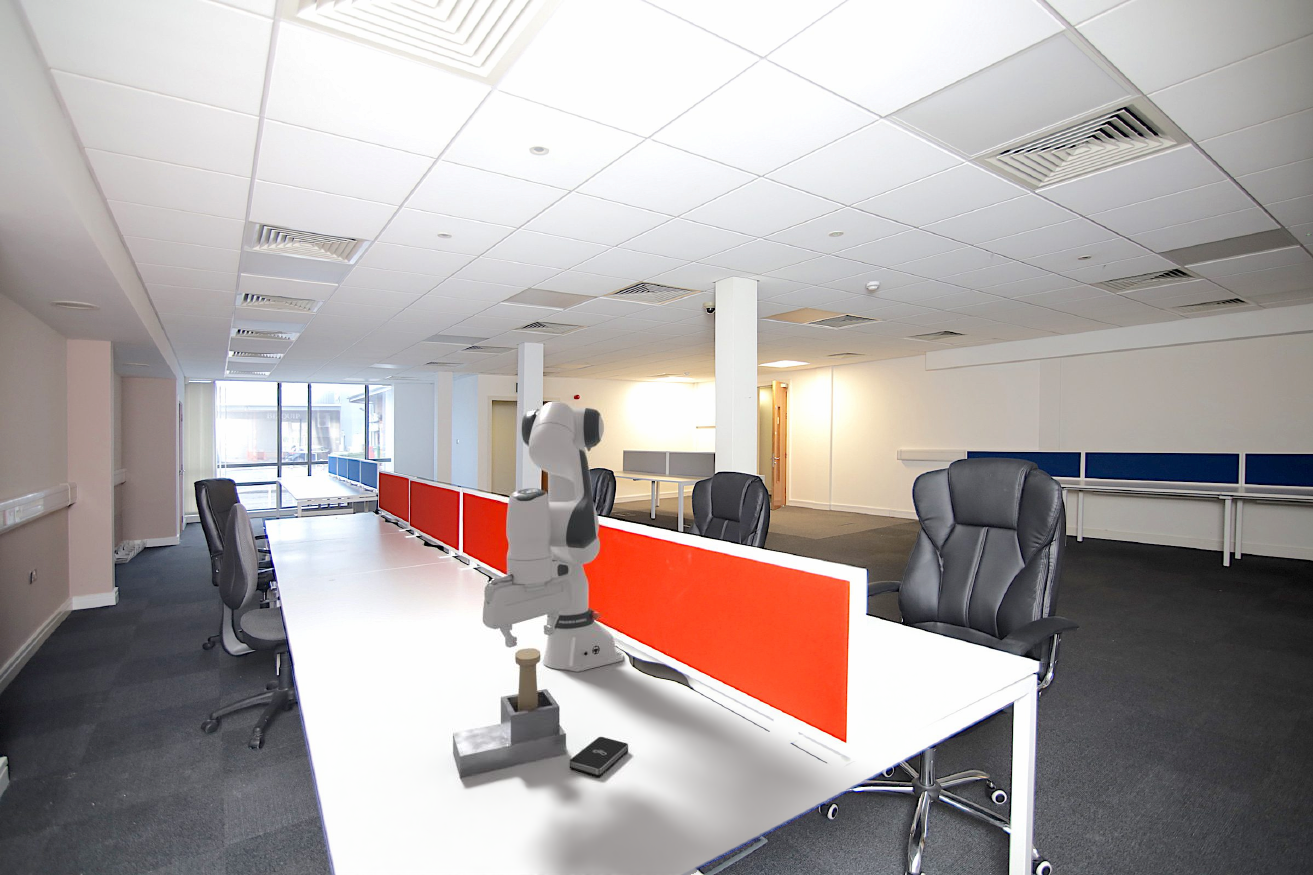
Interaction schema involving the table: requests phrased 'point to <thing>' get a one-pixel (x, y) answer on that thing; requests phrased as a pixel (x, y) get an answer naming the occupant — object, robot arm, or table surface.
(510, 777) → the table surface
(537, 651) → the handle
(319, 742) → the table surface
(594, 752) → the external hard drive
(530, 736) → the duct
